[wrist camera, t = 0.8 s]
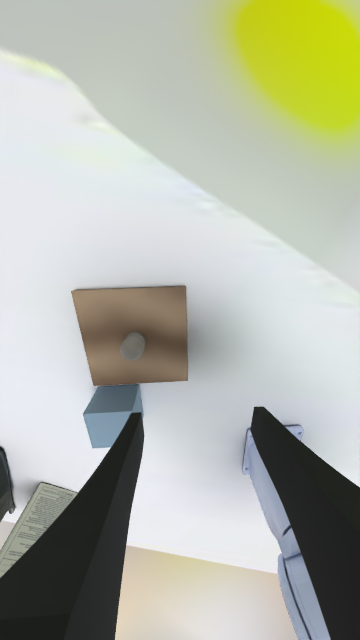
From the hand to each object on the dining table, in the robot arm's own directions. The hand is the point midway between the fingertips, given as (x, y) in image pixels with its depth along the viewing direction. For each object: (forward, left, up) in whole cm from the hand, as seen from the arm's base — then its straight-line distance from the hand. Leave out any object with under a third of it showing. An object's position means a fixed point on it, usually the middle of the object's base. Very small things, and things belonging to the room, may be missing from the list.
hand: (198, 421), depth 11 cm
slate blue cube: (-7, +9, -10) cm, 15 cm away
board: (+2, +6, -10) cm, 11 cm away
